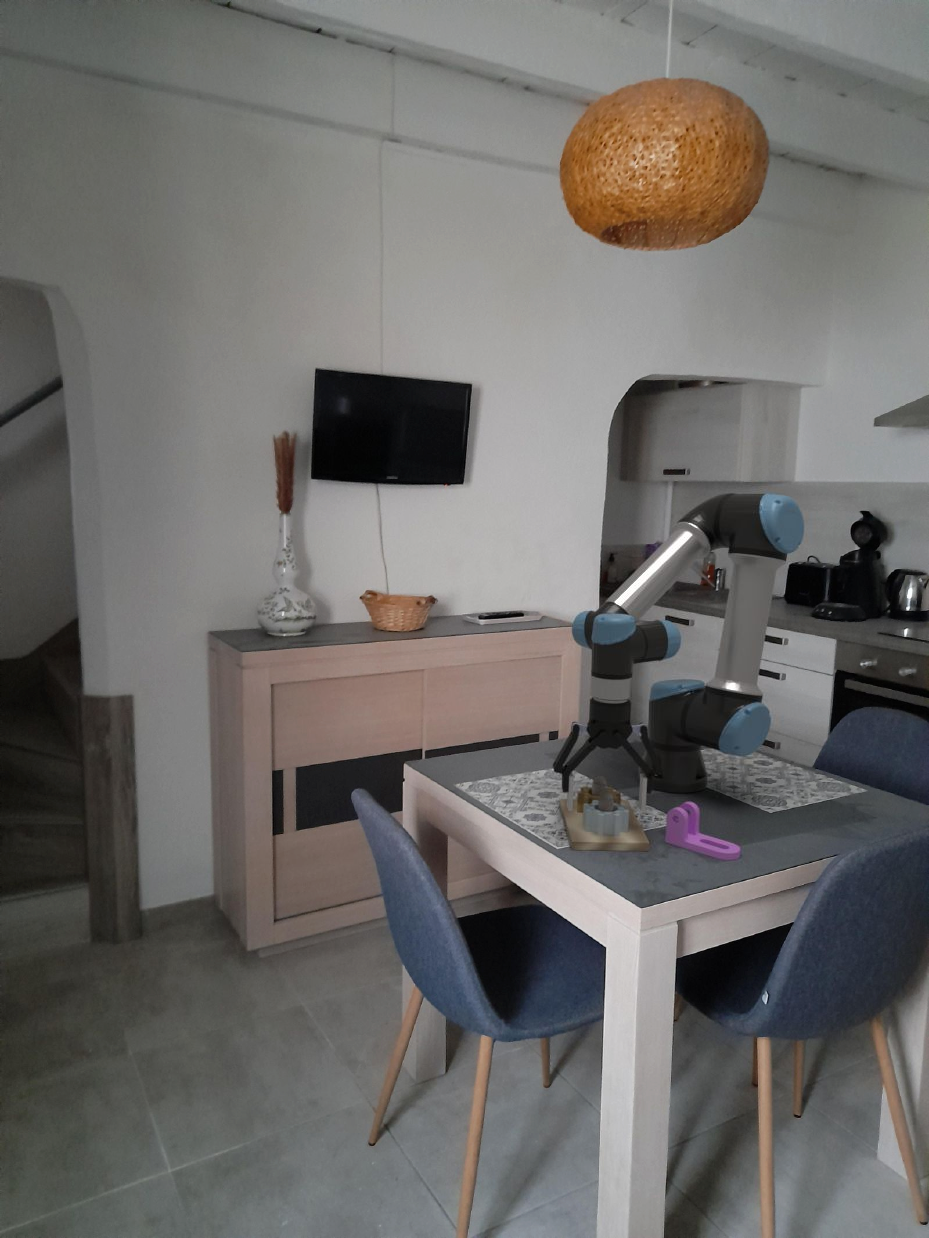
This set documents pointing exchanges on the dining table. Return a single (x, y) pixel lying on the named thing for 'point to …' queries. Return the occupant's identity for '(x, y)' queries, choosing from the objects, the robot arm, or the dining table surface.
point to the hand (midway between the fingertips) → (605, 809)
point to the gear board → (605, 840)
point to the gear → (605, 819)
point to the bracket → (696, 834)
